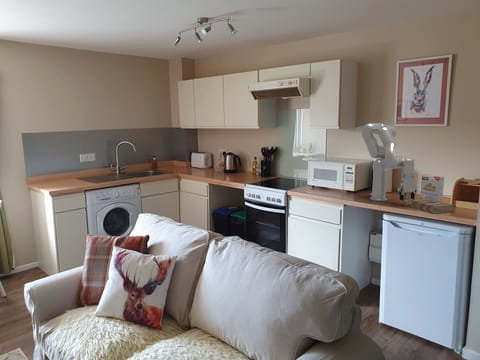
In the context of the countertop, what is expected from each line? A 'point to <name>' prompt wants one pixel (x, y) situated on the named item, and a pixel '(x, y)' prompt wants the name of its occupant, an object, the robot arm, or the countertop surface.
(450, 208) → the board
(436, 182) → the cracker box
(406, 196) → the peg
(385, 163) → the robot arm
